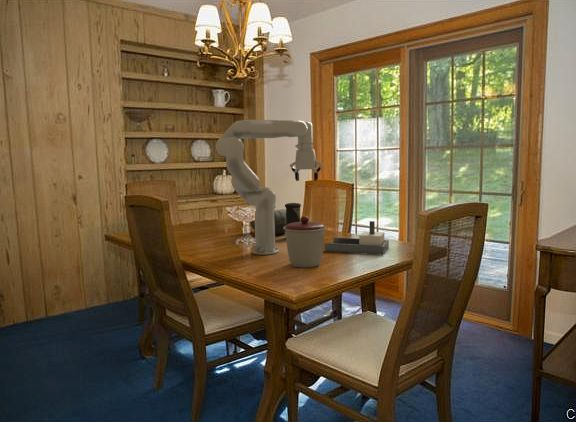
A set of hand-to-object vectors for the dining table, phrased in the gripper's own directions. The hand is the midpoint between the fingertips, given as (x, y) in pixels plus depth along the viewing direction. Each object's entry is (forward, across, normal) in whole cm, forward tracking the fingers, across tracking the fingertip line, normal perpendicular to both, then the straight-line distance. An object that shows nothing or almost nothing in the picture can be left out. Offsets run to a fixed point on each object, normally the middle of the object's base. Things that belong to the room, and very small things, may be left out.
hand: (306, 180), depth 228 cm
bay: (+34, +26, -6) cm, 43 cm away
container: (+34, -13, +16) cm, 40 cm away
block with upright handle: (+32, +34, -7) cm, 47 cm away
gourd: (+34, -31, +27) cm, 53 cm away
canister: (+33, +10, -42) cm, 54 cm away
